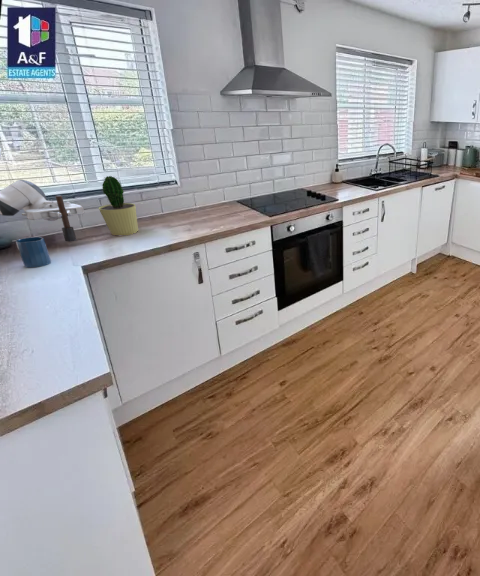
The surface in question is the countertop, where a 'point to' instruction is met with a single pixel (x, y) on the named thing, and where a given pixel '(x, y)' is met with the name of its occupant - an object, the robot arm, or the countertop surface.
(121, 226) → the potted cactus
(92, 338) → the countertop surface
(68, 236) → the brush
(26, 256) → the blue ribbed tumbler
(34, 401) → the countertop surface
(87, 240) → the countertop surface
